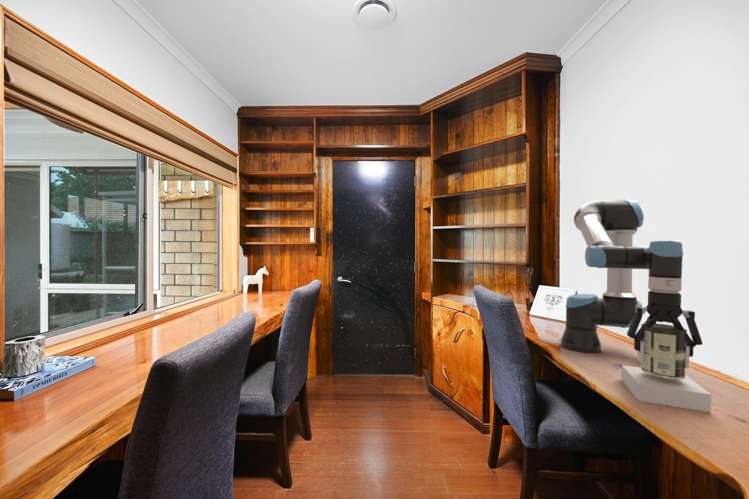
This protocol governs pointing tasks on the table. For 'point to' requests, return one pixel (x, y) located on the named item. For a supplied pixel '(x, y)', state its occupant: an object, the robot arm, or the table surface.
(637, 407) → the table surface
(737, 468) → the table surface
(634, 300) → the robot arm
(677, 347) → the coffee can
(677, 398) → the base
